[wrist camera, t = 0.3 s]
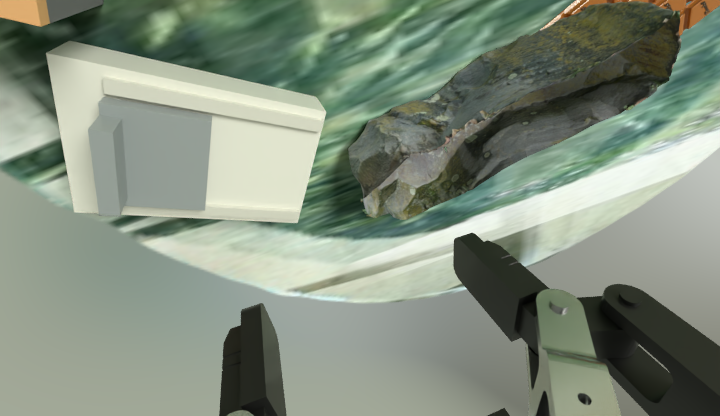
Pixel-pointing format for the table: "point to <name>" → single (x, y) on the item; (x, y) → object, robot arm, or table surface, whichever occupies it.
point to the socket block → (228, 131)
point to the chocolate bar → (689, 15)
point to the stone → (514, 105)
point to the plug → (43, 10)
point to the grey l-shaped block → (149, 157)
